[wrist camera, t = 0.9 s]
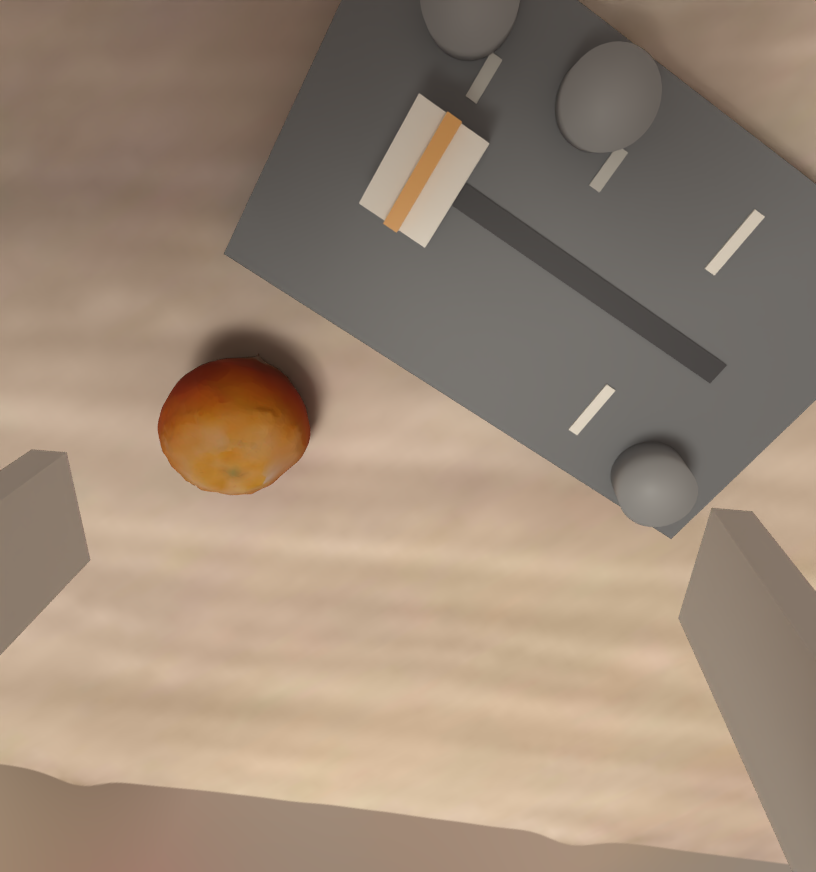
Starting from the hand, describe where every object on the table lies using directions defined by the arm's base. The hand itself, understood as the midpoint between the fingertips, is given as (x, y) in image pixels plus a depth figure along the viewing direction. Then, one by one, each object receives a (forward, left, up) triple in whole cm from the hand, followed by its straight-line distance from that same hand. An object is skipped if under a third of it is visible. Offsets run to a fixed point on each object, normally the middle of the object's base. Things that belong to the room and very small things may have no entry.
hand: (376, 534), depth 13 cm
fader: (-4, +5, -21) cm, 22 cm away
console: (+4, +5, -23) cm, 24 cm away
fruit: (-6, -12, -23) cm, 27 cm away
